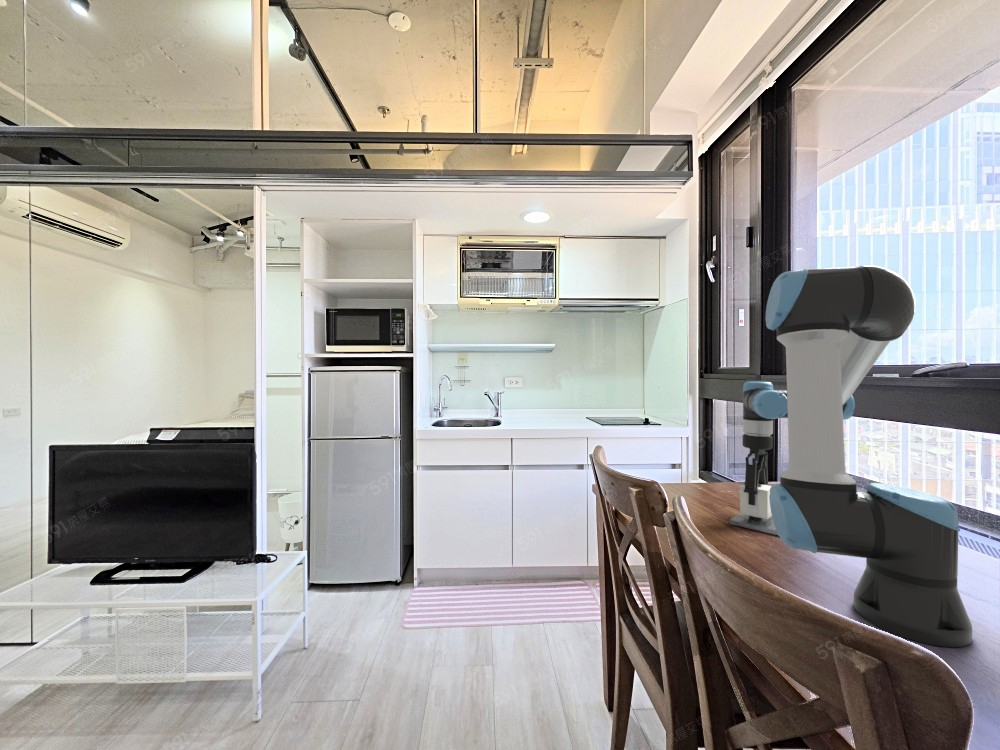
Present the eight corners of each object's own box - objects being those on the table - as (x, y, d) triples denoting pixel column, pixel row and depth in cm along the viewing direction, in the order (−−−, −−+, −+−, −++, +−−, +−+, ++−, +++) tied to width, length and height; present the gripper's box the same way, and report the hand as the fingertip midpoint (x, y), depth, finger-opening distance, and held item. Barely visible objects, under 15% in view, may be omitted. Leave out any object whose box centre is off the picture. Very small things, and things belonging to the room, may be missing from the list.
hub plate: (787, 537, 113) (787, 517, 113) (729, 523, 123) (730, 505, 123) (798, 524, 123) (798, 505, 123) (744, 512, 133) (744, 495, 133)
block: (773, 513, 124) (774, 484, 124) (767, 519, 119) (767, 488, 119) (744, 507, 130) (744, 479, 130) (736, 512, 125) (737, 483, 125)
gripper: (752, 429, 134) (751, 502, 134) (732, 436, 120) (731, 517, 120) (780, 432, 128) (779, 508, 129) (762, 439, 114) (761, 524, 115)
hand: (756, 512), depth 124 cm, fingers closed on block, 7 cm apart
